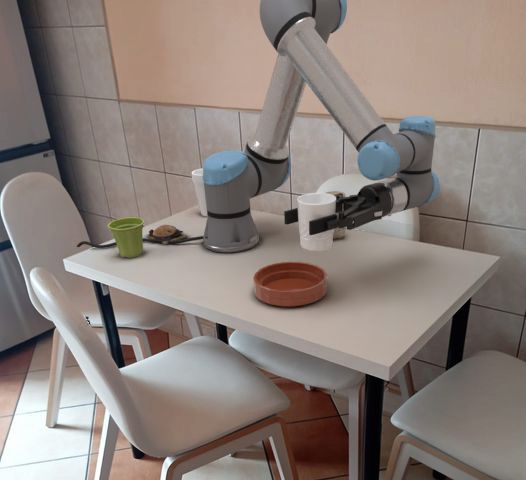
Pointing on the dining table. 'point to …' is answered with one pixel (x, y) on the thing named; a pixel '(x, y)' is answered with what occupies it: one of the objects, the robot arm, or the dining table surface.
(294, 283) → the bowl
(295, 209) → the robot arm
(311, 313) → the dining table surface
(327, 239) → the white cup
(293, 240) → the dining table surface
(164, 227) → the brown domed piece
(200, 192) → the foam cup
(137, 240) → the plant pot
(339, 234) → the carving
